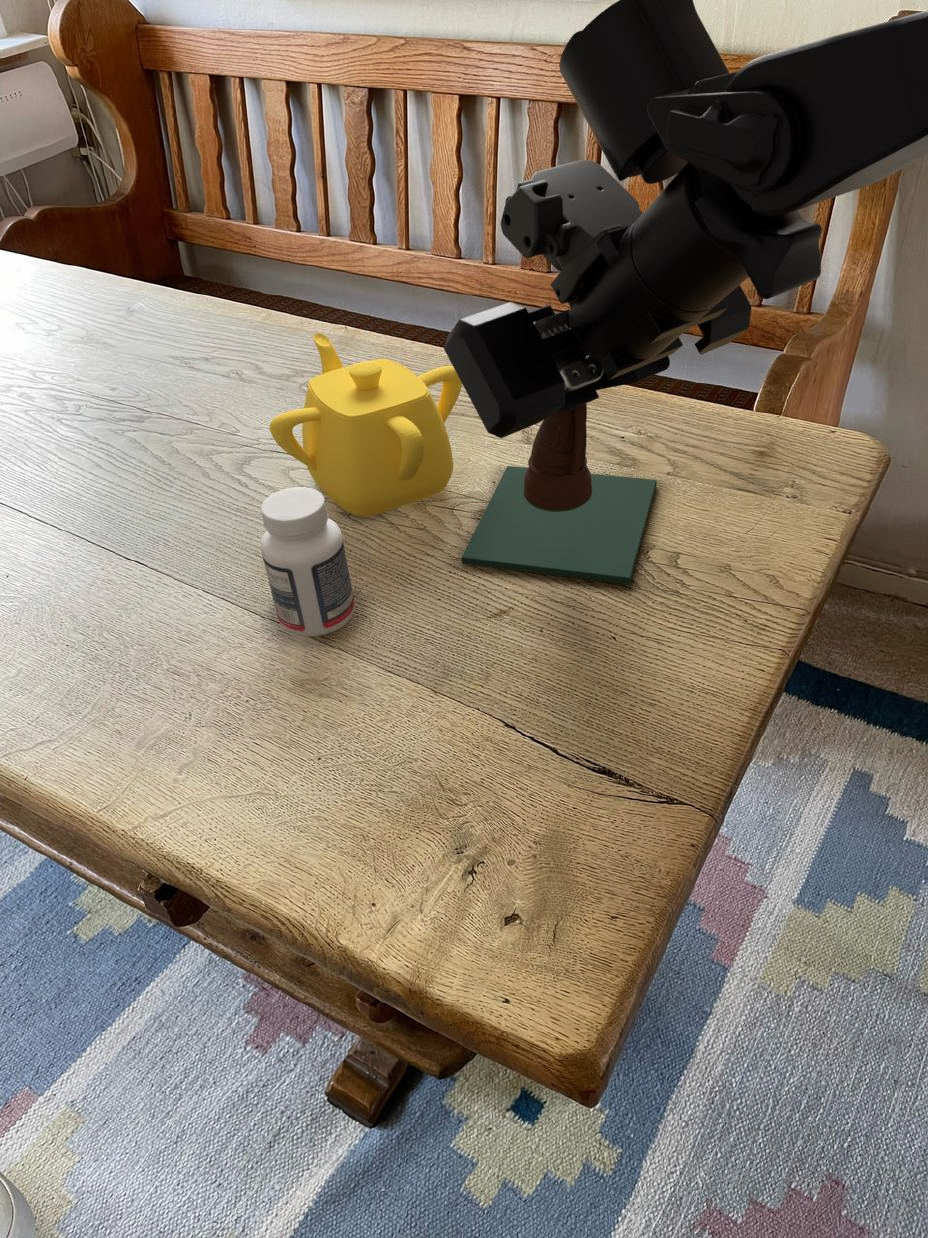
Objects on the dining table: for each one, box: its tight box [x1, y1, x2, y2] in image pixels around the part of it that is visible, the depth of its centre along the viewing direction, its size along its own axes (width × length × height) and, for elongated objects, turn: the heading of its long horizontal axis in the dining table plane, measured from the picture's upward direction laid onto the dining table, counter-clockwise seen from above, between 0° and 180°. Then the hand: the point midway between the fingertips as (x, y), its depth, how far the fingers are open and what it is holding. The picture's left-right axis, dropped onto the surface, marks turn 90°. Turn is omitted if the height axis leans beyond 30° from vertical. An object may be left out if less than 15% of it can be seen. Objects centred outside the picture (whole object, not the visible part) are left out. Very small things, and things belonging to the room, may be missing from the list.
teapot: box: [269, 332, 463, 517], centre depth 75 cm, size 14×13×10 cm
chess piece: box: [524, 403, 592, 512], centre depth 61 cm, size 5×5×10 cm
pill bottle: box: [260, 486, 356, 638], centre depth 62 cm, size 5×5×9 cm
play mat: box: [460, 465, 658, 585], centre depth 72 cm, size 12×13×1 cm
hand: (541, 394), depth 61 cm, fingers closed on chess piece
